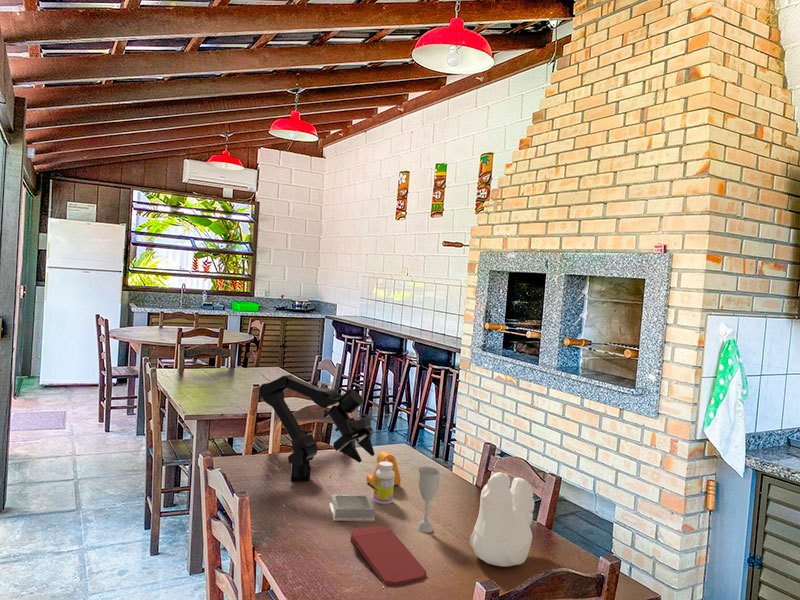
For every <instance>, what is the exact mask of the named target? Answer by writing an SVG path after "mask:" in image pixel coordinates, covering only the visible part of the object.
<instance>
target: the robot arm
mask: <svg viewBox="0 0 800 600" xmlns="http://www.w3.org/2000/svg"><path fill="white" fill-rule="evenodd" d="M287 389H289V390H291V391H294V392H297V393H299V394H300V395H303V396H306V397H308V398H310V399H311V400H312V402H313V403H314V404H315V405H317V406H319V407H320V408H324V412H323V416H322V417H323V419H326V418H330V419H331V421H332V423H333V424H334V425H335V427H336V428H335V429H334V430H335V431H336V432H339V433H340V435H341V436H339V438H338V439H336V440H335V441H334V442H333V445H332V446H333V449H334V450H335V451H336V452H339V453H342V454H343V455H345V456H348V457H350V459H353V460H354V461H356V462H358V463H361V462H362V461H363V459H362V458H361V455H360V454H359V452H358V450H357V448H356V446H355V441H356V442H357V444H358V445H359V446H360V447H361V448H362V449H364V451H366V452H367V454H369V455H370V456H371V457H373V456H375V454H376V453H375V451H374V447H373V443H372V435H373V432H374V429H373V427H372V426H371V422H372V417H370V415H369V414H367V413H366V414H363V415H361V416H360V419H356V418H355V417H351V416H350V415H349V414H353V413H354V412H355V411H356V410H357V409H358V408H360V407H361V405H363V403H364V398H363V397H362V395H361V394H360V393H358V392H357V391H355V390H354V389H353V388H349V389H348V390H346V391H345V393H344V394H340V393H338V392H337V391H336V390H335V389H332V388H327V387H319V386H315V385H313V384H311V383H309V382H307V381H304V380H302V379H299V378H297V377H295V376H293V375H292V374H285V375H281V376H280V377H278V378H277V379H274V380H272V381H271V382H266V383H262V384H261V385H260V387H259V390H258V393H259V397H260V398H261V399H262V401H264V403H266V404H268V405H269V406H270V407H272V408H273V410H274V412H275V414H276V416H277V417H278V419H279V421H280V422H281V424H282V426H283V427H284V429H285V430H286V432H287V434H288V436H289V438H290V439H291V449H292V451H293V452H292V453H290V455H288V456H287V461H288V463H289V464H291V468H290V475H289V477H290V482H308V481H310V479H309V478H311V471H312V469H311V468H312V465H311V463H310V461H312V460H314V457H315V456H316V455H317V453H318V449H319V447H318V445H317V444H318V442H317V441H316V440H315V439H314V435H313V434H312V433H310V434H306V433H305V432H304V431H303V429H302V428H301V426H300V424H299V422H298V421H297V418H296V417H295V416H294V414H293V412H292V411H291V409H290V408H289V406H288V404H287V403H286V401H285V392H284V391H285V390H287ZM336 404H337V405H336ZM328 407H330V408H328ZM325 408H328V409H325Z"/></svg>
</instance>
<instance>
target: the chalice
mask: <svg viewBox="0 0 800 600" xmlns="http://www.w3.org/2000/svg"><path fill="white" fill-rule="evenodd" d="M418 472H419V473H418V474H419V477H418V489H419V492H420V495H421V498H422V500H423V501H425V504H424V506H423V508H424V512H423V514H424V515H423V516H424V517H423V518H422V519H421V520H420V521H419V523H417V526H416V529H417V531H419V532H421V533H432V532H434V528H433V526H432V525H433V524H432V522H431V521H430V520H429V519H428V517H429V515H430V513H429V509H430V502H431V501H433V499H434V498H435V496H436V495H437V493H438V491H439V489H440V479H441V475H442V474H443V471H442V470H441V469H439V468H436V467H430V466H422V467H419V468H418Z"/></svg>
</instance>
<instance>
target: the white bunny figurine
mask: <svg viewBox="0 0 800 600" xmlns="http://www.w3.org/2000/svg"><path fill="white" fill-rule="evenodd" d="M533 497H534V493H533V488H532V487H531V486H530V485H529V482H528V481H527V480H526V479H524V478H522V477H514V478H513V479H512V482H511V478H510V476H509V475H508V474H507V473H503V472H501V471H499V472H495V473H494V474H492V476H490V478H489V479H488V480H487V482H486V484H485V485H484V486H483V487H482V490H481V492H480V499H479V500H480V501H479V511H478V516H477V520H476V521H475V525H474V528H473V532H472V533H471V536H470V537H469V545H470V547H471V548H472V549H473V551H474V553H475V555H476V557H477V558H478V559H480V560H482V561H483V562H485V563H486V564H488V565H493V566H497V567H512V566H517V565H518V566H519V565H521V564H523V563H525V561H526V559H528V555H529V553H530V549H531V544H532V541H533V533H532V532H533V531H532V529H531V527H530V526H531V525H532V522H533V517H534V513H533V512H534V510H535V500H534V498H533Z"/></svg>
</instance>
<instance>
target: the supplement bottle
mask: <svg viewBox="0 0 800 600" xmlns="http://www.w3.org/2000/svg"><path fill="white" fill-rule="evenodd" d="M392 468H393V464H392V463H391V462H386V461H385V462H380V463H379V469H378V470H377V471H376V473H375V483H374V487H373V496H372V499H373V501H374V502H375V503H377V504H379V505H387V504H388V505H389V504H391V503H392V502H393V500H394V499H393V498H394V488H395V487H394V486H395V485H394V478H395V473H394V472H393V471H392Z"/></svg>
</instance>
